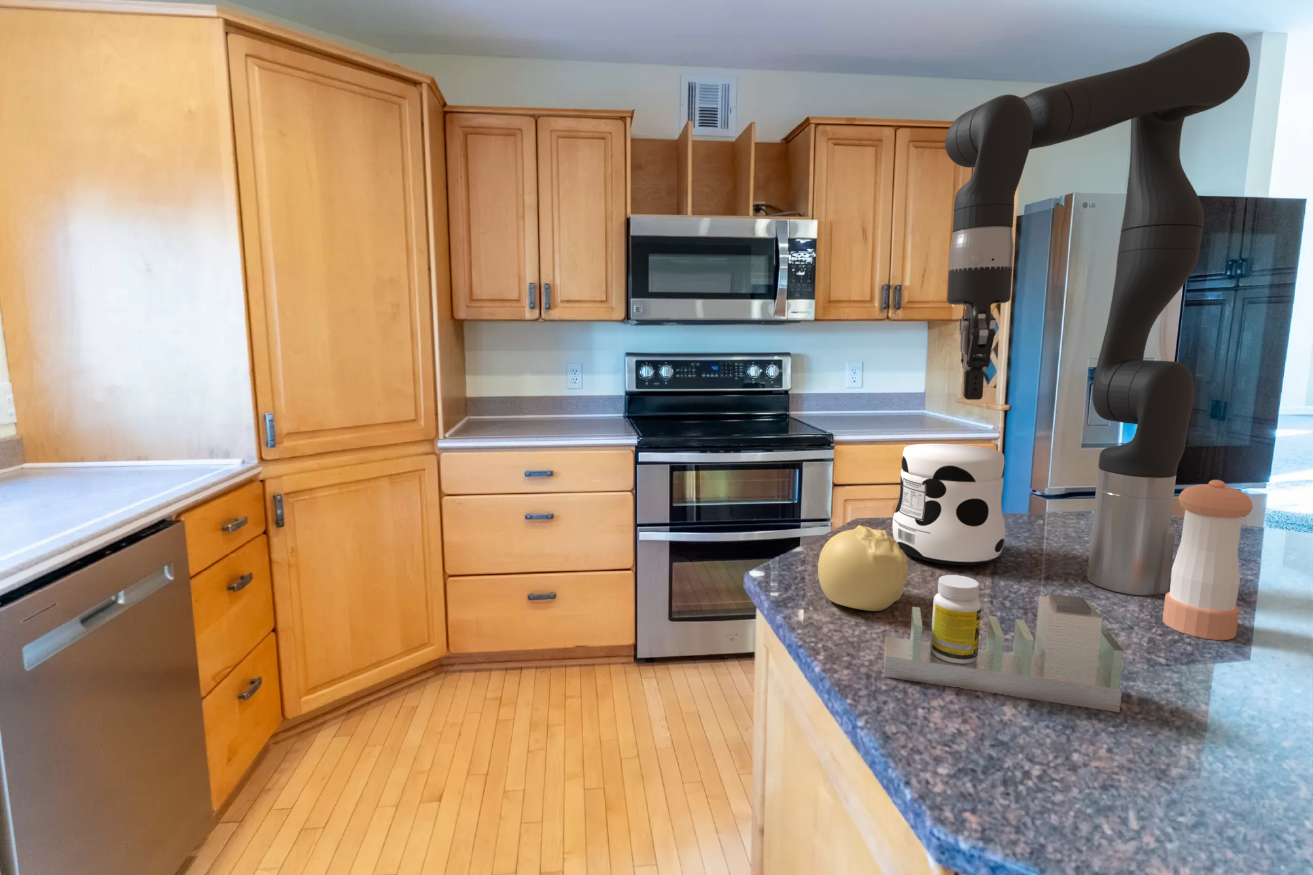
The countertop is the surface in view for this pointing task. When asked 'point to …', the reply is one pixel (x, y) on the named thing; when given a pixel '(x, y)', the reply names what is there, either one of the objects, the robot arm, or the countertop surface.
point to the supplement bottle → (956, 619)
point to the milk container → (950, 504)
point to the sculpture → (863, 569)
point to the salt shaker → (1207, 562)
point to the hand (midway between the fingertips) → (972, 398)
